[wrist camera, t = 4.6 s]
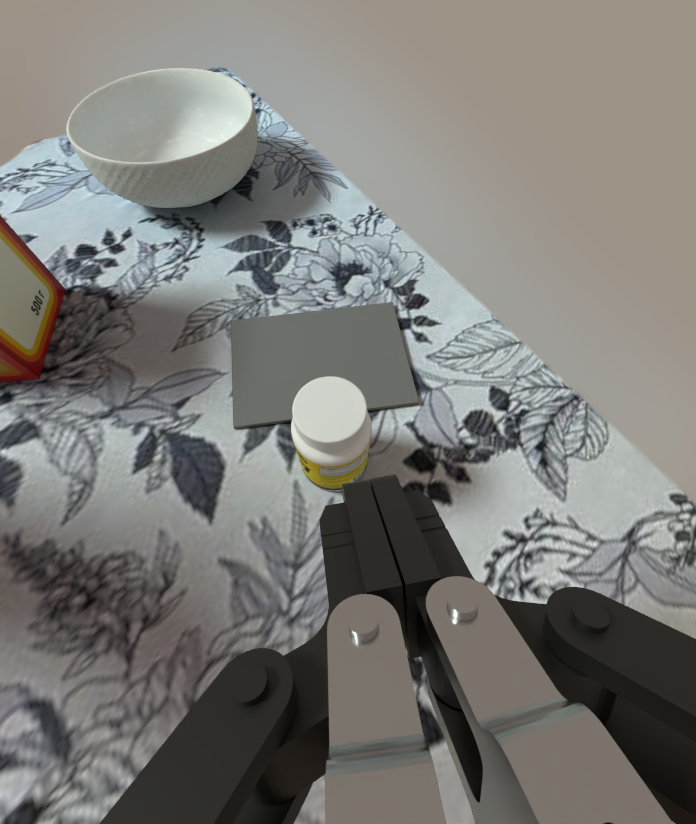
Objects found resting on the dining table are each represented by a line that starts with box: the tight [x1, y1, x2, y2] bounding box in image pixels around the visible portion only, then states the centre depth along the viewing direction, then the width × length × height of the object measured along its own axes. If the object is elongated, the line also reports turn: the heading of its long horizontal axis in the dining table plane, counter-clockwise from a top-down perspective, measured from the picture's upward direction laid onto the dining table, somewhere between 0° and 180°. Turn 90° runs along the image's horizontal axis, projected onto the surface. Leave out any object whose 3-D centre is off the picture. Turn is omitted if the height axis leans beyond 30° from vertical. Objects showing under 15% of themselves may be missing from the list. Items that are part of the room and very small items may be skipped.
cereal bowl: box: [67, 68, 258, 208], centre depth 39 cm, size 17×17×7 cm
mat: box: [231, 302, 419, 429], centre depth 32 cm, size 10×14×1 cm
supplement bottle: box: [291, 376, 372, 491], centre depth 24 cm, size 5×5×8 cm
